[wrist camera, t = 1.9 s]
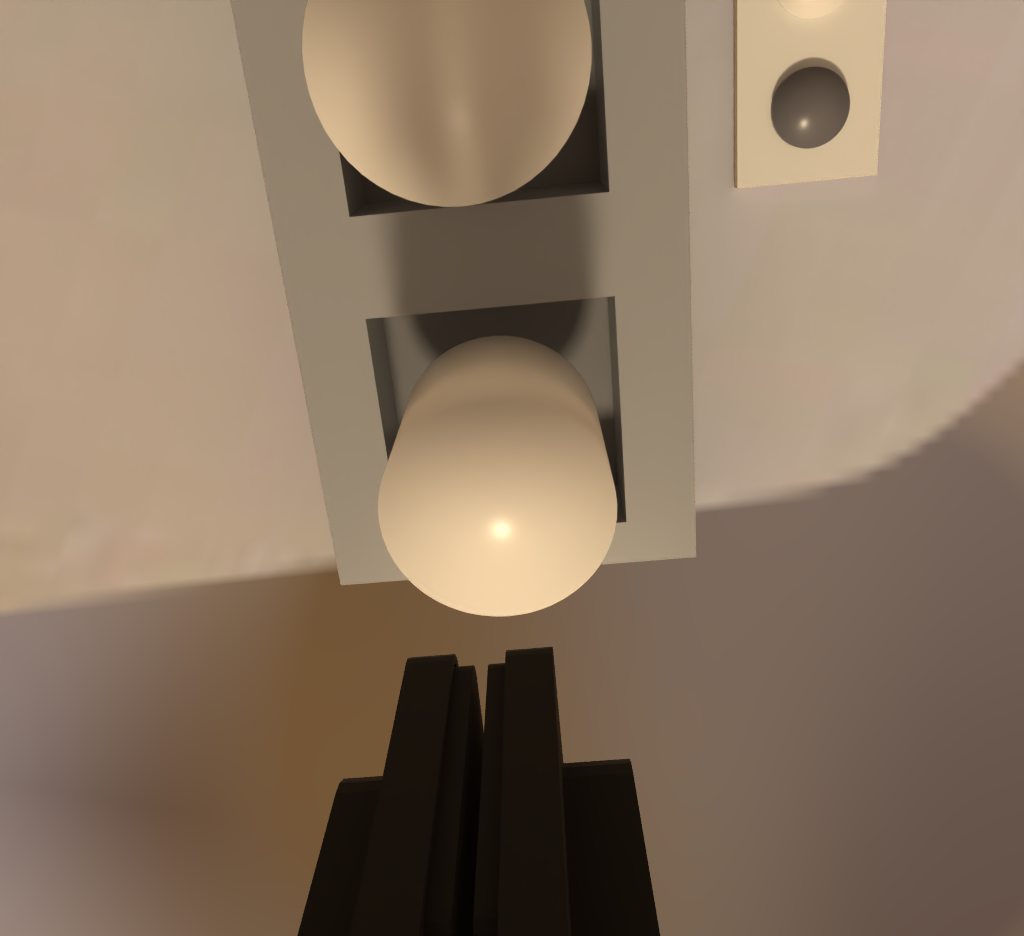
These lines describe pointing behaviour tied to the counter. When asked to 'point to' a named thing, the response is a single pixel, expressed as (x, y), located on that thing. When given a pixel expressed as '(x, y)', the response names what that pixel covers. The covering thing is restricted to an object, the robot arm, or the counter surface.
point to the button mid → (447, 90)
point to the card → (806, 89)
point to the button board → (494, 275)
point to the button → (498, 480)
